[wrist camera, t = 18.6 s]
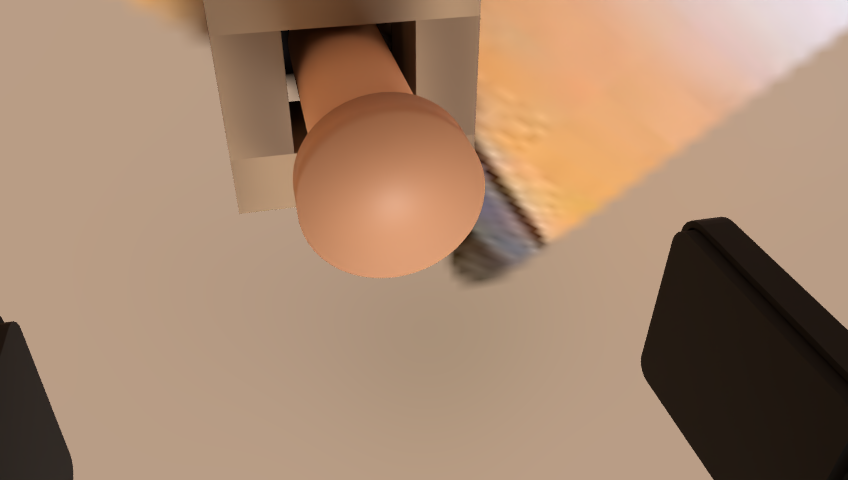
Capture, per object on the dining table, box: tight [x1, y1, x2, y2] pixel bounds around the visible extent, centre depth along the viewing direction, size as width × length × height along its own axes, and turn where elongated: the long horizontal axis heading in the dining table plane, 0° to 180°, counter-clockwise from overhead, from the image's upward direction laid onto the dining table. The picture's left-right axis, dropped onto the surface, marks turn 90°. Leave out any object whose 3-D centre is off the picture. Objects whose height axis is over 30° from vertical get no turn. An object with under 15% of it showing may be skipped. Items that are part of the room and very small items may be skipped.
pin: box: [288, 24, 485, 278], centre depth 27 cm, size 6×6×14 cm
